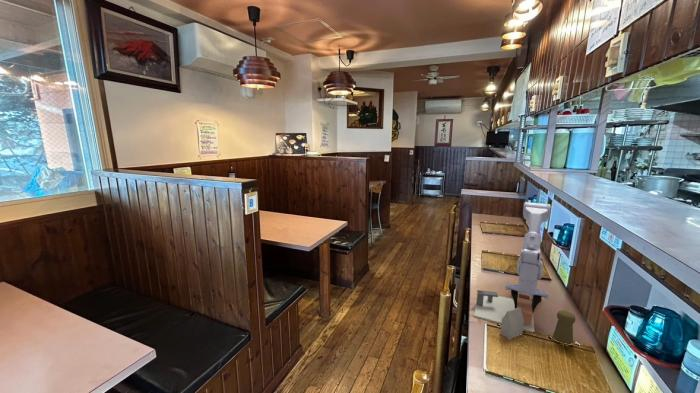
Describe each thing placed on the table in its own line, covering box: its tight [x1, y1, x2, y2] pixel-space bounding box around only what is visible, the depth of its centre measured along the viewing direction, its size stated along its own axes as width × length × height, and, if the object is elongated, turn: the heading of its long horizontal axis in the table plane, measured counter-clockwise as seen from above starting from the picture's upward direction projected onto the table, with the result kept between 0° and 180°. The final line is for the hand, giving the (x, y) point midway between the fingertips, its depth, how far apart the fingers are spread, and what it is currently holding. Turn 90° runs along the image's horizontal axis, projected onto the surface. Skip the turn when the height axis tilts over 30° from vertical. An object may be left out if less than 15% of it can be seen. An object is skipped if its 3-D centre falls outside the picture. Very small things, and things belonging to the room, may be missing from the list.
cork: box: [552, 310, 576, 344], centre depth 101 cm, size 6×6×11 cm
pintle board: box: [473, 289, 535, 333], centre depth 120 cm, size 22×21×6 cm
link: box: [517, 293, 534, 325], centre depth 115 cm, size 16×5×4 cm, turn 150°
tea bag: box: [500, 307, 524, 340], centre depth 104 cm, size 4×7×10 cm, turn 113°
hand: (523, 309), depth 115 cm, fingers closed on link, 5 cm apart
